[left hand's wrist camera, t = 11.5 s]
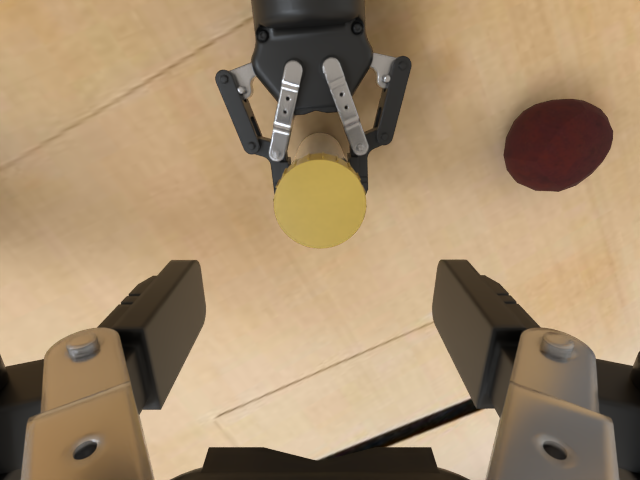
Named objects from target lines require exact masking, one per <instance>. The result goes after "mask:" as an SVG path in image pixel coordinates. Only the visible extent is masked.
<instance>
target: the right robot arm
mask: <svg viewBox="0 0 640 480" xmlns="http://www.w3.org/2000/svg"><path fill="white" fill-rule="evenodd" d="M251 3H252V12H253V20H254V28H255V37H256V44H255V49H254V53H253V55H252V59H251V63H248V64H246V65H243V66H241V67H238V68H236V69H233V70H231V71H227V70H220V71H219V72H217V74H216V77H215V80H216V83H217V86H218V88H219V90H220V93H221V95H222V97H223V100H224V102H225V105H226V107H227V109H228V112H229V114H230V117H231V119H232V121H233V124H234V126H235V129H236V131H237V133H238V136H239V138H240V141H241V143H242V145H243V148H244V150H245V151H246V152H247V153H248V154H256V155H260V156H263V157H265V158H267V159H268V160H269V161H270V164H271V169H272V177H273V186H274V194H275V192H276V189H277V188H276V185H277V183H278V181H279V180H281V178H282V176H283V172H284V170H285V168H288V167H289V166H290V165H291V157H288V155H287V150H288V145H289V141H290V136H291V132H292V128H293V124H294V120H295V115H304V114H307V113H310V112H313V111H321V112H326V113H330V112H337V113H338V115H339V118H340V121H341V123H342V126H343V128H344V131H345V133H346V136H347V139H348V141H349V144H350V153H347V158H348V162H349V163H350V165H351V167H352V168H353V169H354V171H355V172H356V173H358V174H359V177H360V179H361V180H360V182H361V184H362V185H363V187H364V189H365V191H366V193H367V190H368V168H367V157H368V154H369V152H370V151H371V150H372V149H374V148H376V147H379V146H381V145H387V144H389V143H390V142H391V141H392V139H393V135H394V131H395V127H396V123H397V120H398V116H399V112H400V108H401V104H402V100H403V96H404V93H405V89H406V85H407V81H408V77H409V73H410V70H411V61H410V59H409V58H408V57H406V56H401V57H397V58H395V57H391V56H386V55H381V54H377V53H373V50H372V47H371V45H370V43H369V41H368V39H367V36H366V32H365V3H364V0H251ZM369 68H371V69H372V70H373V71H374V72H375V75H376V78H375V82H376V84H377V86H378V87H380V88H383V89H382V93H381V97H380V101H379V106H378V110H377V114H376V118H375V122H374V127H373V129H371V130H368V131H366V132H364V131H363V128H362V126H361V123H360V119H359V116H358V113H357V110H356V108H355V105H354V102H353V99H352V96H353V94H354V93H355V91H356V89H357V88H358V86H359V84H360V83H361V81H362V79H363V78H364V76H365V75H366V73H367V71H368V70H369ZM256 77H257V78H258V79H259V80H260V81H261V82H262V84H263V85H264V86H265V87H266V88H267V90H268V91H269V92H270V93H271V95H272V96H273V97H274V98H275V99H276V101H277V102H278V105H277V109H276V114H275V119H274V125H273V133H272V138H271V139H269V138H265V137H263V136H262V134H261V131H260V129H259V126H258V124H257V121H256V119H255V116H254V114H253V111H252V109H251V106H250V103H249V101H248V98H250V97H251V96H252V95H253V86H252V84H253V80H254V79H255V78H256ZM365 195H366V194H365Z"/></svg>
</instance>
